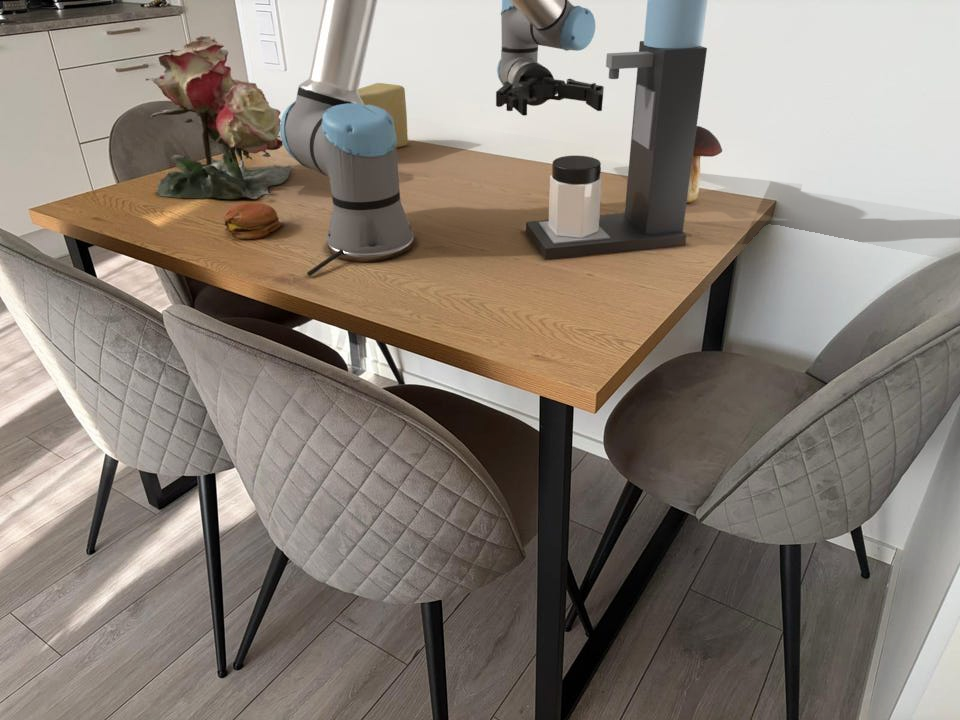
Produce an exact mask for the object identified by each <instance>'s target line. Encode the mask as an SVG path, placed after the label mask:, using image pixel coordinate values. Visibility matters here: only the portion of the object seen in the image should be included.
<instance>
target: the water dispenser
mask: <svg viewBox="0 0 960 720" xmlns="http://www.w3.org/2000/svg"><path fill="white" fill-rule="evenodd" d="M707 6H708V0H647V3H646V14H645V26H644V36H643V40H640V41H639V45H638V46H639V47H638V51H627V52H609V53H606V60H605V67H606V68H608V79H610V80H618V79H619V78H620V70H622V69H636V79H635V80H636V82H635V90H634V91H635V92H634V102H633V103H634V104H633V114H632V125H631V136H630V137H631V138H630V149H629V160H628V173H627V184H626V195H625V196H626V197H625V205H624V212H618V213H605V214H600V216H599V230H598V231H597V232H595V233H593V234H590V235H588V236H585V237H583V238H575V237H565V236H557V235H555V233H554V232H553V231H552V230H551V229H550V227H549V226H548V225H549V219H542V220H531V221H525V233H526V235H527V236H528V238H529V239H530V240H531V242H532V244H533V245H534V246H535V248H536V249H537V250H538V252H539V253H540V254H541V256H542V257H543V259H544V260H554V259H564V258H573V257H585V256H594V255H601V254H602V255H603V254H604V255H605V254H614V253H623V252H632V251H641V250H642V251H644V250H652V249H663V248H670V247H672V248H673V247H680V246H681V247H682V246H686V243H687V242H686V241H687V234H686V232H684V226H685V225H684V224H685V219H686V218H685V217H686V212H687V211H686V210H687V203H688V202H687V196H688V188H689V180H690V173H691V165H692V158H693V150H694V143H695V135H696V128H697V126H698V119H699V111H700V105H701V104H700V103H701V98H702V89H703V81H704V74H705V67H706V59H707V51H708V47H705V46H703V38H704V29H705V21H706V14H707Z"/></svg>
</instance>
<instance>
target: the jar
mask: <svg viewBox="0 0 960 720" xmlns="http://www.w3.org/2000/svg"><path fill="white" fill-rule="evenodd" d="M551 165H552V166H551V167H552V170H551V175H550V176H549V193H548V194H549V195H548V196H549V197H548V199H549V200H548V220H549V225H548V226H549V227H550V229H551V230H552V231H553V232H554V233H555V235H557V236H565V237H575V238H583V237H585V236H588V235H590V234H593V233H595V232H597V231H598V230H599V216H600V215H601V201H602V189H603V188H602V187H603V185H602V184H603V179H602V178H601V173H602V166H601V165H602V163H601V161H600V160H599V159H597V158H595V157H593V156H588V155H587V156H586V155H565V156H560V157H557V158H555V159H554V160H553V161H552V164H551Z"/></svg>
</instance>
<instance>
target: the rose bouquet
mask: <svg viewBox="0 0 960 720" xmlns="http://www.w3.org/2000/svg"><path fill="white" fill-rule="evenodd" d="M224 47H225V45H223V44H221V43H219V42H218V41H217V40H216V37H213V36H208V35H200V36H199V37H196V38H195V40H191V41H190V42H188V43H186V44H184V45H183V47H182V48H181V49H179V50H175V49H174V48H172V49H170V50H169V52H170V54H167V53H166V54H162V55H159V56H158V57H157V58H158V62H159V65H160V66H162V67H163V68H164V71H163V73H164V74H163V75H159V77H156V78H153V77H152V78H151V77H150V78H145V81H151V82H153V83H154V84H155V85H156V86H157V87H158V88H159V89H160V91H161V92H162V94H163V95H164V97H166V98H167V99H168V100H169V101H171V102H172V103H173V104H174V105H175V106H177V105H178V106H179V107H178V108H173V109H164V110H160V111H157V112H155V113H152V114H151V115H150V117H151V118H156V117H159V116H180V115H184V114H187V113H189V112H191V113H195V114H196V116H195V118H198V117H199V118H200V120H201V121H200V122H201V127H202V134H201V136H202V137H201V138H202V147H203V151H204V157H205V161H206V162H205V163H202V162H201V161H198V160H194V159H190V158H189V157H187V156H186V155H179V154H173V155H172V156H171V157H170V160H171V161H173V162H174V164H175V167H176V168H177V169H179V170H178V171H176V170H171V171H169V172H168V173H167V174H166V175H165V176H164V177H163V178H161V179H160V180H158V181H157V190H156V192H155V193H156V194H157V195H159V196H161V197H165V198H166V197H167V198H177V199H200V200H203V199H204V198H206V199H209V198H215V199H223V200H241V199H246V198H247V199H252V200H257V199H258V198H260V197H261V196H262V195H263V196H264V195H270V193H269V190H268V189H269V188H268V187H273V186H276V185H281V184H283V183H284V182H285V181H286V180H288V178H289V176H290V172H291V169H292V165H286V166H282V165H277V164H274V165H273V166H264V167H250V168H249V167H246V166H245V163H244V160H243V156H244V157H245V160H247V159H250V160H251V161H252V163H253V164H255V161H254V160H253V158H252V157H251V156H250V155H249V154H258V153H261V152H263V153H264V154H262V157H264V158H270V157H271V154H270V152H267V151H277V150H279V149H280V148H281V147H282V146H284V145H283V142H282V139H279V138H281V135H279V134H280V124H281V118H280V115H281V114H282V113H281V111H280V110H279V109H278V108H274V107H271V106H270V103H269V101H268V100H267V98H266V96H265V94H264V91H263V90H262V89H261V88H259V87H258V85H257V83H256V82H250V81H241V80H239V79H237V78H232V73H231V72H232V68H231V66H229V65H228V66H226V65H225V64H226V63H227V60H228V55H229V50H227V49H222V48H224ZM193 122H194V121H193V118H187V119H185V120H184V123H186V124H187V123H189V124H190V123H193ZM216 148H218V149H219V150H220V152H221V159H220V160H214V159H213V158H212V152H213V151H214V150H215V149H216ZM237 156H238V157H237ZM238 158H239V160H240V163H239V161H238Z"/></svg>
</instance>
